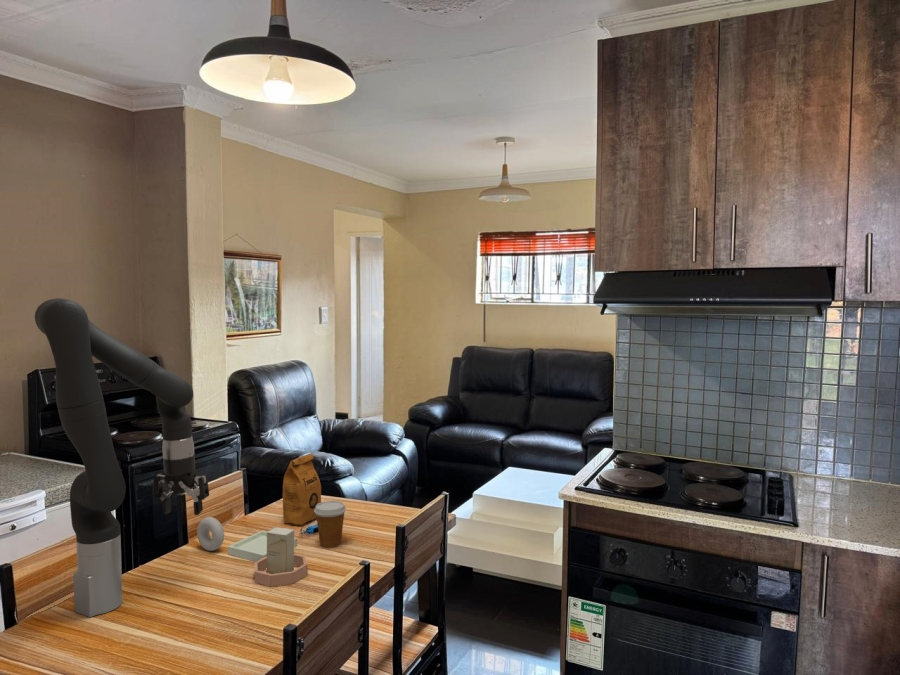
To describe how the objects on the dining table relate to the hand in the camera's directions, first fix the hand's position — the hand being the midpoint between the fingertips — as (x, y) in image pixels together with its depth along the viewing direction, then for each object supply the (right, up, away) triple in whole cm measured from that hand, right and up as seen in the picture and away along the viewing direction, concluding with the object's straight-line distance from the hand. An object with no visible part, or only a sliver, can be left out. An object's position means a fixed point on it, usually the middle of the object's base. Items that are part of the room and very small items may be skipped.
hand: (182, 513), depth 159 cm
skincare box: (+25, -18, +5) cm, 31 cm away
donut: (-1, -17, +21) cm, 27 cm away
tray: (+15, -17, +21) cm, 31 cm away
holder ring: (+25, -18, +5) cm, 31 cm away
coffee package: (+21, -16, +46) cm, 53 cm away
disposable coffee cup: (+34, -17, +26) cm, 46 cm away
